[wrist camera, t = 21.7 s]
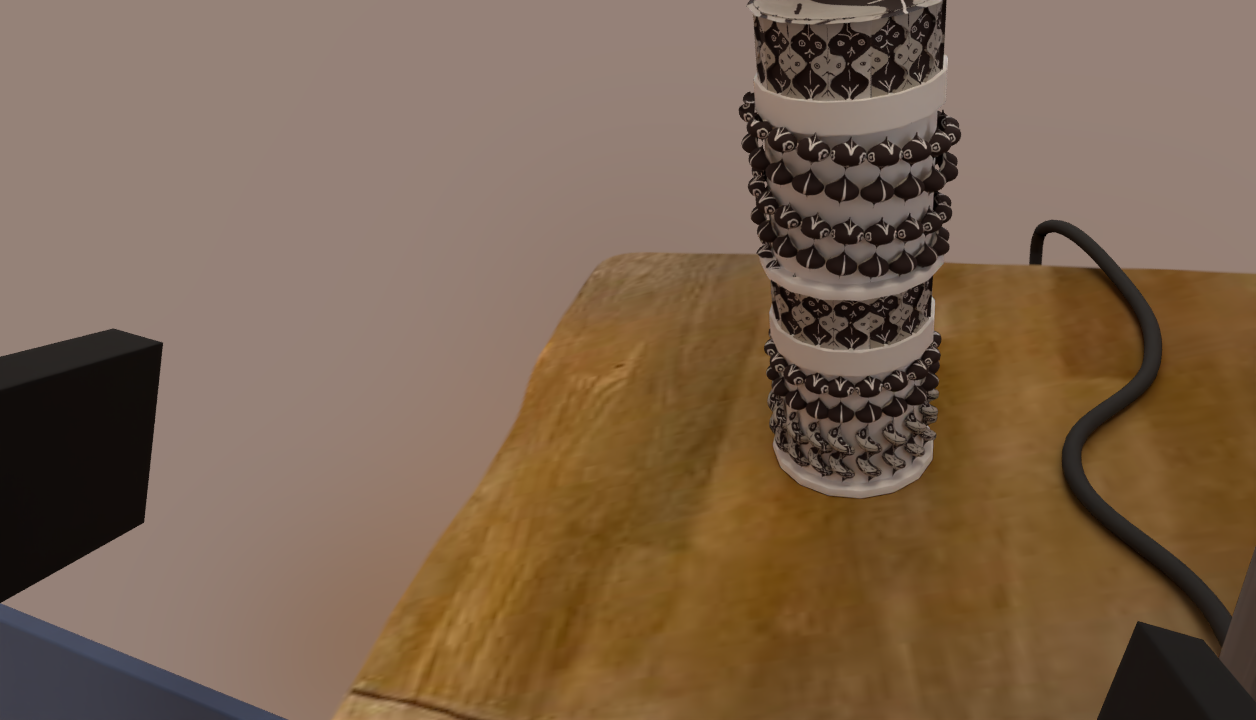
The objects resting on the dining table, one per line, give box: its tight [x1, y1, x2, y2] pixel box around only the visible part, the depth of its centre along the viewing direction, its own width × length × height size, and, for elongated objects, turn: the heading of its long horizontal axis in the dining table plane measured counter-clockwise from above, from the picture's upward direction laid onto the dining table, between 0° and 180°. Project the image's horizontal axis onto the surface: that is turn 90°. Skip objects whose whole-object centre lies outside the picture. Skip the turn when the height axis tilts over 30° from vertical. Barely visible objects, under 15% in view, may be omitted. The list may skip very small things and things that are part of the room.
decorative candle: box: [739, 0, 961, 498], centre depth 43 cm, size 9×9×25 cm
